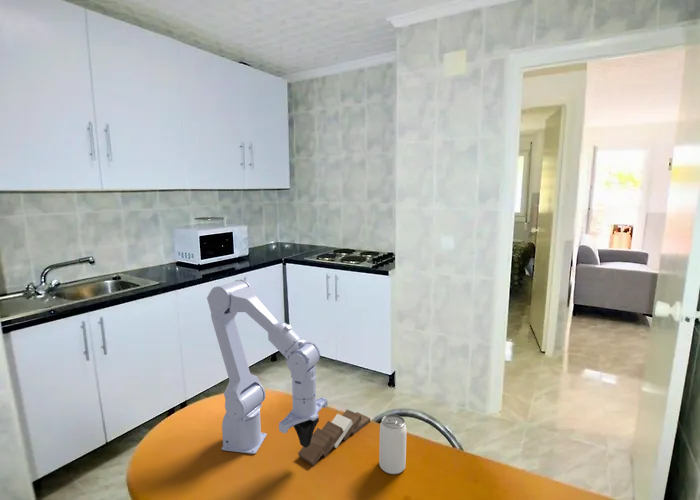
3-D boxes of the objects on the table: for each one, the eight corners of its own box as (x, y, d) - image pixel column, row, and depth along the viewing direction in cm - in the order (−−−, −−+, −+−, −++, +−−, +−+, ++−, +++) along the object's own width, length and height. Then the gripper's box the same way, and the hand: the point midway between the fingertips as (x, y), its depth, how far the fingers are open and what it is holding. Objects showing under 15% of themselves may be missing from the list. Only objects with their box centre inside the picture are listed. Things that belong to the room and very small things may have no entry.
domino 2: (323, 453, 93) (342, 427, 98) (309, 445, 96) (328, 420, 101) (325, 457, 93) (343, 431, 99) (311, 449, 97) (329, 424, 102)
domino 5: (353, 431, 102) (370, 418, 108) (339, 424, 105) (357, 411, 111) (353, 436, 102) (370, 423, 108) (339, 429, 106) (357, 416, 112)
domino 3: (334, 444, 96) (351, 419, 101) (320, 437, 99) (337, 413, 104) (336, 448, 97) (352, 423, 102) (322, 440, 100) (339, 417, 105)
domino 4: (344, 436, 99) (360, 415, 105) (330, 429, 102) (346, 409, 108) (345, 441, 100) (361, 419, 105) (331, 433, 103) (348, 413, 108)
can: (404, 477, 87) (406, 430, 85) (377, 473, 88) (378, 427, 86) (406, 458, 93) (407, 414, 91) (380, 454, 94) (381, 411, 93)
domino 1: (311, 462, 90) (331, 435, 95) (297, 453, 93) (317, 427, 98) (313, 466, 90) (333, 439, 96) (299, 457, 94) (319, 431, 99)
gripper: (292, 413, 81) (294, 468, 83) (336, 387, 92) (336, 436, 94) (272, 402, 85) (274, 455, 87) (316, 378, 96) (316, 426, 98)
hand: (305, 444), depth 91 cm, fingers closed
